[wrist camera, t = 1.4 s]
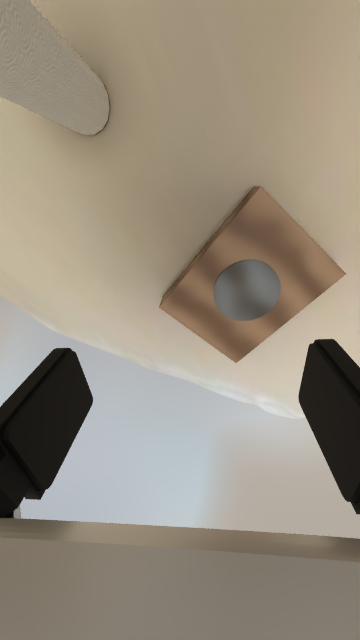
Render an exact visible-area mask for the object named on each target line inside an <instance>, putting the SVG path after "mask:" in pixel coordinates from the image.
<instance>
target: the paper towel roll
mask: <svg viewBox="0 0 360 640" xmlns="http://www.w3.org/2000/svg"><path fill="white" fill-rule="evenodd" d="M0 96H1V97H3V98H5V99H7V100H10V101H12V102H14V103H16V104H18V105H20V106H22V107H24V108H27V109H29V110H31V111H33V112H35V113H37V114H39V115H42V116H44V117H46V118H48V119H50V120H52V121H54V122H56V123H59V124H61V125H63V126H65V127H67V128H69V129H71V130H74V131H76V132H78V133H80V134H83V135H95V134H96V133H98V132H99V131H101V130H102V129H103V127H104V126H105V124H106V122H107V120H108V115H109V109H110V107H109V100H108V93H107V91H106V89H105V87H104V85H103V82H102V80H101V79H100V78H99V77H98V76H97V75H96V74H95V73H94V72H93V71H92V69H91V68H90V67H89V66H88V65H87V64H86V63H85V62H84V61H83V59H82V58H81V57H80V56H79V55H78V54H77V53H76V52H75V51H74V50H73V48H72V47H71V46H70V45H69V44H68V43H67V42H66V41H65V40H64V38H63V37H62V36H61V35H60V34H59V33H58V32H57V31H56V30H55V29H54V27H53V26H52V25H51V24H50V23H49V22H48V21H47V20H46V19H45V17H44V16H43V15H42V14H41V13H40V12H39V11H38V10H37V9H36V8H35V6H34V5H33V4H32V3H31V2H30V1H29V0H0Z"/></svg>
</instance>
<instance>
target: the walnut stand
mask: <svg viewBox="0 0 360 640" xmlns="http://www.w3.org/2000/svg"><path fill="white" fill-rule="evenodd" d="M345 274H346V273H345V272H344V271H343V270H342V269H341V268H340V267H339V266H338V265H337V264H336V263H335V262H334V261H333V260H332V259H331V258H330V257H329V256H328V255H327V254H326V252H325V251H324V250H323V249H322V248H321V247H320V246H319V245H318V244H317V243H316V242H315V241H314V240H313V239H312V238H311V237H310V236H309V235H308V234H307V233H306V232H305V231H304V230H303V229H302V228H301V227H300V226H299V225H298V224H297V223H296V222H295V221H294V220H293V219H292V218H291V217H290V216H289V215H288V214H287V213H286V212H285V211H284V210H283V208H282V207H281V206H280V205H279V204H278V203H277V202H276V201H275V200H274V199H273V198H272V197H271V196H270V195H269V194H268V193H267V192H266V191H265V190H264V189H263V188H262V187H254V188H253V189H252V190H251V191H250V192H249V194H248V195H247V196H246V197H245V198H244V200H243V201H242V202H241V203H240V204H239V206H238V207H237V208H236V209H235V210H234V212H233V213H232V214H231V215H230V216H229V218H228V219H227V220H226V221H225V222H224V224H223V225H222V226H221V227H220V228H219V230H218V231H217V232H216V233H215V234H214V236H213V237H212V238H211V239H210V240H209V242H208V243H207V244H206V245H205V247H204V248H203V249H202V250H201V251H200V253H199V254H198V255H197V256H196V257H195V259H194V260H193V261H192V262H191V263H190V265H189V266H188V267H187V268H186V269H185V271H184V272H183V273H182V274H181V275H180V277H179V278H178V279H177V280H176V281H175V283H174V284H173V285H172V286H171V287H170V289H169V290H168V291H167V292H166V293H165V295H164V296H163V298H162V300H161V303H160V306H159V308H161V309H162V310H164V311H165V312H166V313H168V314H169V315H170V316H172V317H173V318H175V319H176V320H177V321H179V322H180V323H181V324H183V325H184V326H186V327H187V328H188V329H190V330H191V331H193V332H194V333H195V334H197V335H198V336H199V337H201V338H202V339H204V340H205V341H206V342H208V343H209V344H210V345H212V346H213V347H215V348H216V349H217V350H219V351H220V352H221V353H223V354H224V355H226V356H227V357H228V358H230V359H231V360H232V361H234V362H235V363H237V362H238V361H239V360H241V359H242V358H243V357H244V356H246V355H247V354H248V353H249V352H251V351H252V350H253V349H254V348H255V347H257V346H258V345H259V344H260V343H262V342H263V341H264V340H265V339H267V338H268V337H269V336H270V335H271V334H273V333H274V332H275V331H276V330H278V329H279V328H280V327H281V326H283V325H284V324H285V323H286V322H288V321H289V320H290V319H291V318H292V317H294V316H295V315H296V314H297V313H299V312H300V311H301V310H302V309H304V308H305V307H306V306H307V305H308V304H310V303H311V302H312V301H313V300H315V299H316V298H317V297H318V296H320V295H321V294H322V293H323V292H325V291H326V290H327V289H328V288H329V287H331V286H332V285H333V284H334V283H336V282H337V281H338V280H339V279H341V278H342V277H343V276H344V275H345Z"/></svg>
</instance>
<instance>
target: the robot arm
mask: <svg viewBox="0 0 360 640" xmlns="http://www.w3.org/2000/svg"><path fill="white" fill-rule="evenodd" d="M92 403H93V397H92V394H91V391H90V389H89V386H88V383H87V381H86V378H85V375H84V373H83V370H82V368H81V365H80V362H79V360H78V357H77V355H76V353H75V352H74V351H72V350H71V349H70V348H56V349H54V350H53V351H52V352H51V353H50V354H49V355H48V356H47V357H46V358H45V359H44V360H43V361H42V362H41V364H40V365H39V366H38V367H37V368H36V369H35V370H34V371H33V372H32V373H31V374H30V375H29V376H28V378H27V379H26V380H25V381H24V382H23V383H22V384H21V385H20V386H19V387H18V388H17V389H16V391H15V392H14V393H13V394H12V395H11V396H10V397H9V398H8V399H7V400H6V401H5V402H4V403H3V405H2V406H1V407H0V640H360V539H355V538H342V537H329V536H317V535H303V534H286V533H269V532H254V531H238V530H237V531H236V530H221V529H220V530H219V529H205V528H187V527H168V526H152V525H151V526H150V525H133V524H116V523H115V524H114V523H97V522H77V521H57V520H38V519H21V512H20V503H21V501H22V500H23V498H24V497H25V498H26V499H38V500H40V499H41V497H42V496H43V494H44V492H45V490H46V489H48V488H49V487H50V486H51V484H52V483H53V481H54V479H55V477H56V475H57V473H58V471H59V469H60V467H61V465H62V463H63V461H64V459H65V457H66V455H67V453H68V451H69V449H70V447H71V445H72V443H73V441H74V439H75V437H76V435H77V433H78V431H79V430H80V428H81V426H82V424H83V422H84V420H85V418H86V416H87V414H88V412H89V410H90V408H91V406H92ZM299 403H300V405H301V407H302V410H303V412H304V414H305V416H306V418H307V420H308V422H309V425H310V427H311V429H312V431H313V433H314V435H315V438H316V440H317V442H318V444H319V446H320V448H321V450H322V453H323V455H324V457H325V459H326V461H327V463H328V466H329V467H330V470H331V472H332V474H333V476H334V478H335V481H336V483H337V485H338V487H339V489H340V491H341V494H342V495H343V497H344V499H345V500H346V501H348V502H351V504H352V506H353V507H354V510H355V512H356V514H360V367H359V366H358V365H357V364H356V363H355V362H354V361H353V360H352V359H351V357H350V356H349V355H348V354H347V353H346V352H345V351H344V350H343V348H342V347H341V346H340V345H339V344H338V343H337V342H336V341H335V340H334V339H318V340H315V341H314V343H313V344H310V345H309V348H308V352H307V357H306V362H305V367H304V372H303V376H302V381H301V386H300V391H299Z"/></svg>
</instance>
